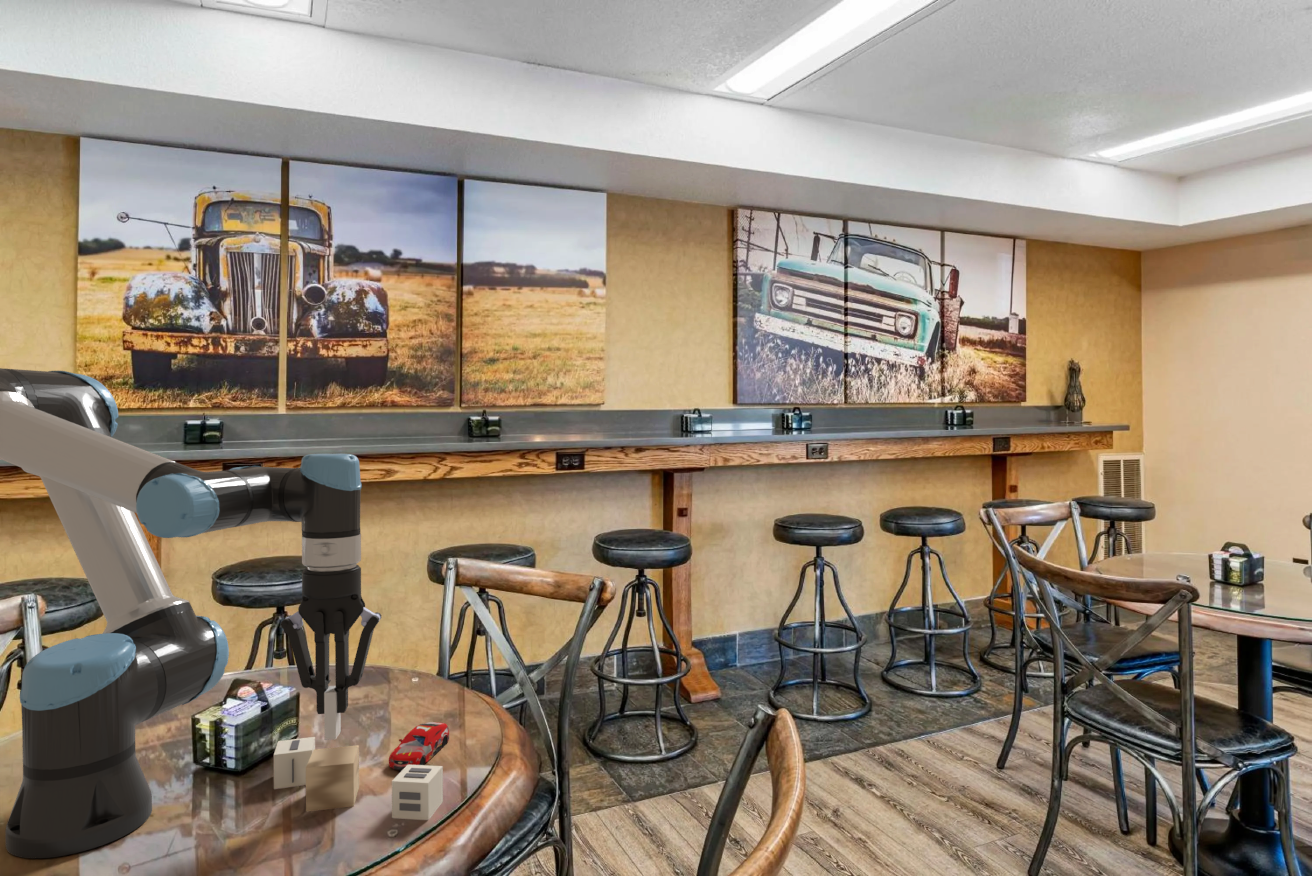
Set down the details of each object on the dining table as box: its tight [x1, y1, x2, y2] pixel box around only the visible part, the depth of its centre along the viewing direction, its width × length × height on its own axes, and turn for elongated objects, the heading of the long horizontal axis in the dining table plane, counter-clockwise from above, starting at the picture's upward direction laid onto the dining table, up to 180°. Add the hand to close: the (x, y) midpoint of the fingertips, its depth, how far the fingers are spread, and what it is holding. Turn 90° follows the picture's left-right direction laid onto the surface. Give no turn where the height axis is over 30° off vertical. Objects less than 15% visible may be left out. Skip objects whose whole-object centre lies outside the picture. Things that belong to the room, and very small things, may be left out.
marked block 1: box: [273, 736, 316, 790], centre depth 113 cm, size 5×6×5 cm
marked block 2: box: [391, 764, 444, 821], centre depth 105 cm, size 5×5×5 cm
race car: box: [388, 721, 450, 771], centre depth 122 cm, size 13×5×4 cm, turn 169°
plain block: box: [305, 744, 360, 813], centre depth 108 cm, size 6×6×6 cm
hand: (332, 735), depth 108 cm, fingers closed
